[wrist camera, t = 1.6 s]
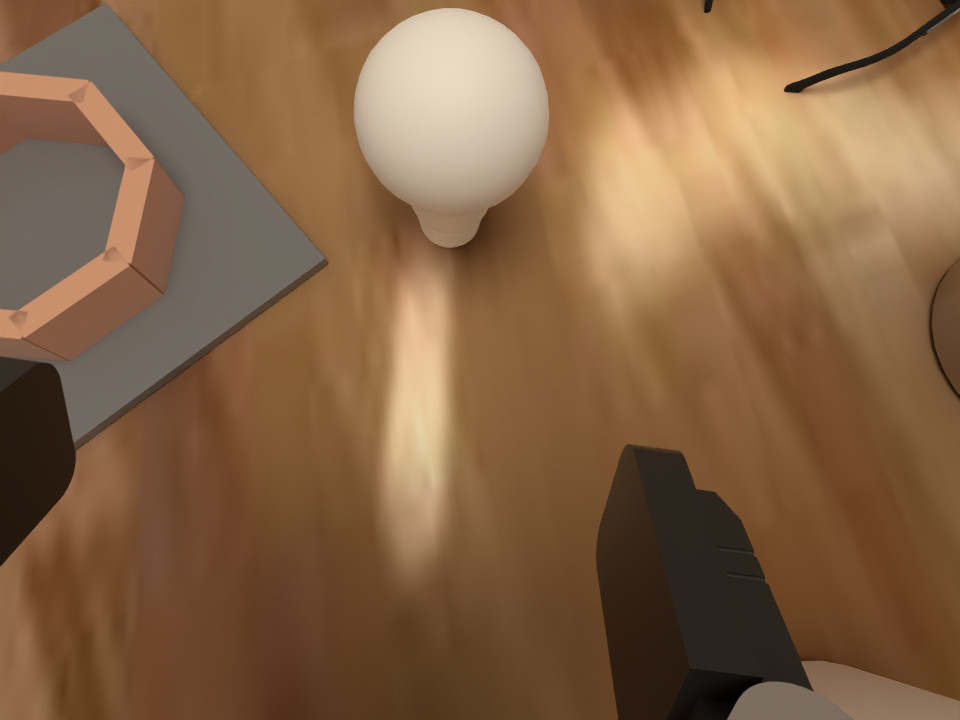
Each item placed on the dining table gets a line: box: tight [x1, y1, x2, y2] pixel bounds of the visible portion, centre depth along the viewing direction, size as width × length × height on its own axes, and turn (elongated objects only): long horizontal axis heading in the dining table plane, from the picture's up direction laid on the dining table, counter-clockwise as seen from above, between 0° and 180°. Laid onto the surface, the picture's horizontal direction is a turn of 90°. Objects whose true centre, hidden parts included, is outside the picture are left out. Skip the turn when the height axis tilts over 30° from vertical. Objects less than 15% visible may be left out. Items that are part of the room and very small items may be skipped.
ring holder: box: [0, 3, 327, 450], centre depth 26 cm, size 16×16×4 cm
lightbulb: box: [354, 8, 549, 248], centre depth 24 cm, size 6×6×11 cm
